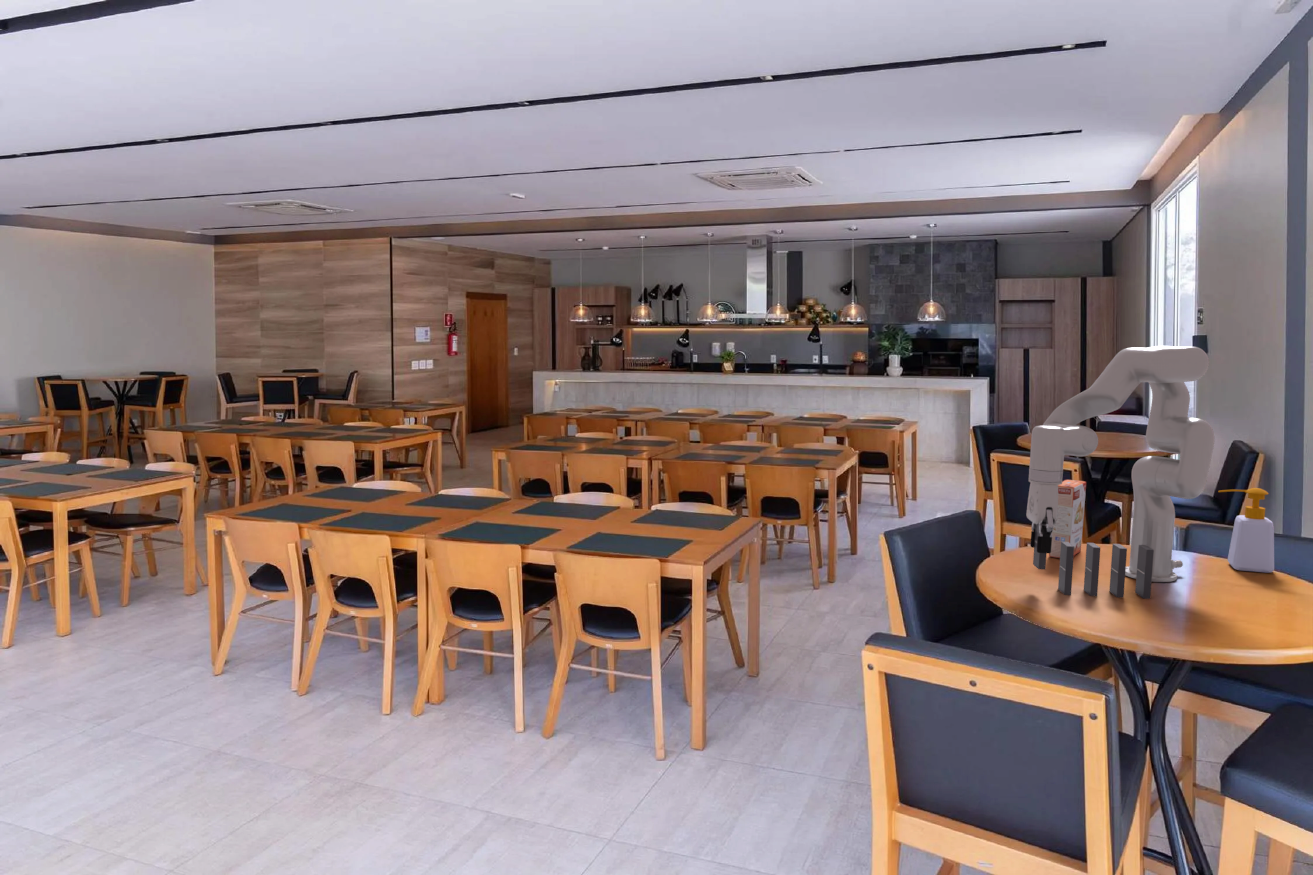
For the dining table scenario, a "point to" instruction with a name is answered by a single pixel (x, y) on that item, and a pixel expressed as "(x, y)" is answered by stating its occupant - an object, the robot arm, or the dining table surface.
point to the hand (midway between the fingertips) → (1040, 549)
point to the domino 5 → (1144, 571)
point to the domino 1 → (1039, 558)
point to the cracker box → (1069, 516)
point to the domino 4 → (1118, 570)
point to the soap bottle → (1252, 537)
